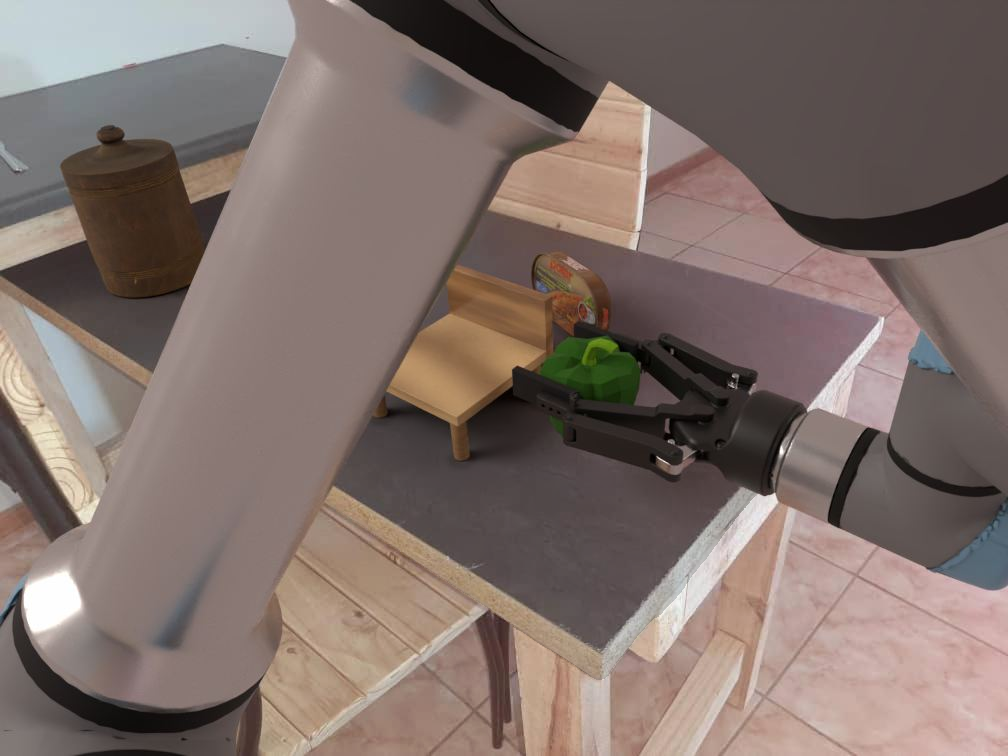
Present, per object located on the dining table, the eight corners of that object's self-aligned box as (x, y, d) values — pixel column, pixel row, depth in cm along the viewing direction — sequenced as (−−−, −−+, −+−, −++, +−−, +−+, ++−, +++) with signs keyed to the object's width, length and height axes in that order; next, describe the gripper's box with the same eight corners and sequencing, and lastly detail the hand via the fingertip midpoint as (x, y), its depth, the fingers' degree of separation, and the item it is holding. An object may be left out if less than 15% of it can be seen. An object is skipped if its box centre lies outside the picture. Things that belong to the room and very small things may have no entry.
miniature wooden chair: (462, 465, 77) (450, 364, 70) (367, 414, 84) (348, 319, 77) (554, 391, 86) (552, 295, 79) (461, 352, 94) (451, 262, 87)
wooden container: (182, 244, 124) (137, 104, 112) (227, 271, 115) (184, 122, 103) (89, 278, 116) (30, 131, 104) (130, 309, 107) (70, 153, 95)
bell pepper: (526, 419, 72) (521, 327, 67) (599, 391, 75) (601, 301, 70) (575, 470, 66) (574, 374, 60) (653, 437, 69) (659, 343, 63)
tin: (530, 302, 103) (527, 244, 98) (550, 296, 104) (549, 237, 99) (593, 354, 91) (593, 291, 87) (615, 346, 93) (617, 284, 88)
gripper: (718, 576, 53) (472, 450, 66) (835, 421, 66) (610, 340, 79) (731, 495, 49) (465, 377, 61) (852, 347, 62) (612, 274, 74)
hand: (547, 356), depth 70 cm, fingers closed on bell pepper, 8 cm apart
